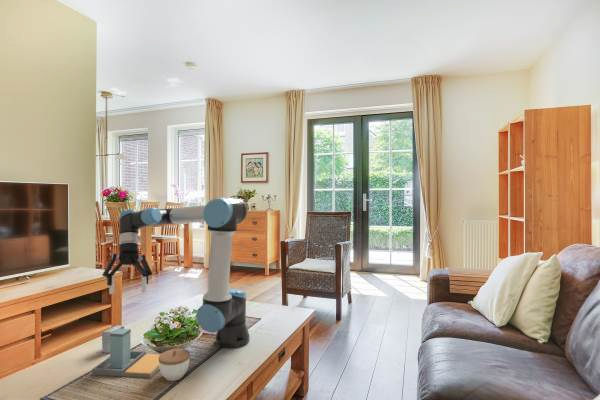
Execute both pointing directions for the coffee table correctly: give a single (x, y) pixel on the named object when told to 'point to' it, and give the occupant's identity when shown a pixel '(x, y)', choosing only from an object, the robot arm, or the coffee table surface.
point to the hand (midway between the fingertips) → (128, 292)
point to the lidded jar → (174, 363)
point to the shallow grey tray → (117, 372)
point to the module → (120, 348)
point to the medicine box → (108, 338)
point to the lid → (144, 367)
